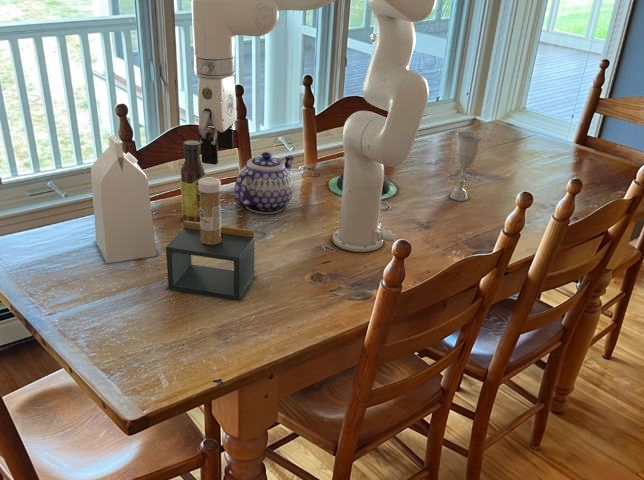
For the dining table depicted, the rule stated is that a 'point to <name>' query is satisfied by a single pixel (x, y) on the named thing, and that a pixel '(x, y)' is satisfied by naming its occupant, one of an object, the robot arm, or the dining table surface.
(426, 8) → the robot arm
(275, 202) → the teapot
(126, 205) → the milk
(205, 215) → the sprinkles bottle
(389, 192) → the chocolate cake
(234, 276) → the shelf
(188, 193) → the sauce bottle
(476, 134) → the chalice
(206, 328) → the dining table surface
